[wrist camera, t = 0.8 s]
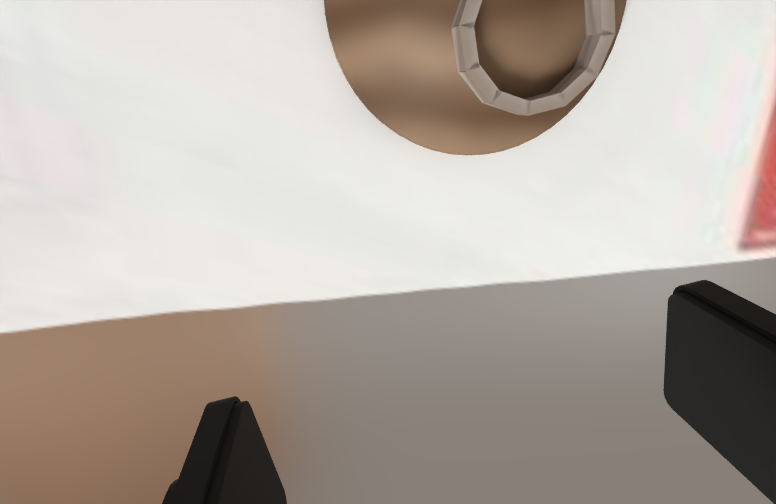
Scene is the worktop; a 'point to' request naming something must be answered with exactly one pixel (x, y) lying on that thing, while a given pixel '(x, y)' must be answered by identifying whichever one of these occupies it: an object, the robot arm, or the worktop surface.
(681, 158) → the worktop surface
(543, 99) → the carrier plate
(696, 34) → the worktop surface
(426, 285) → the worktop surface
